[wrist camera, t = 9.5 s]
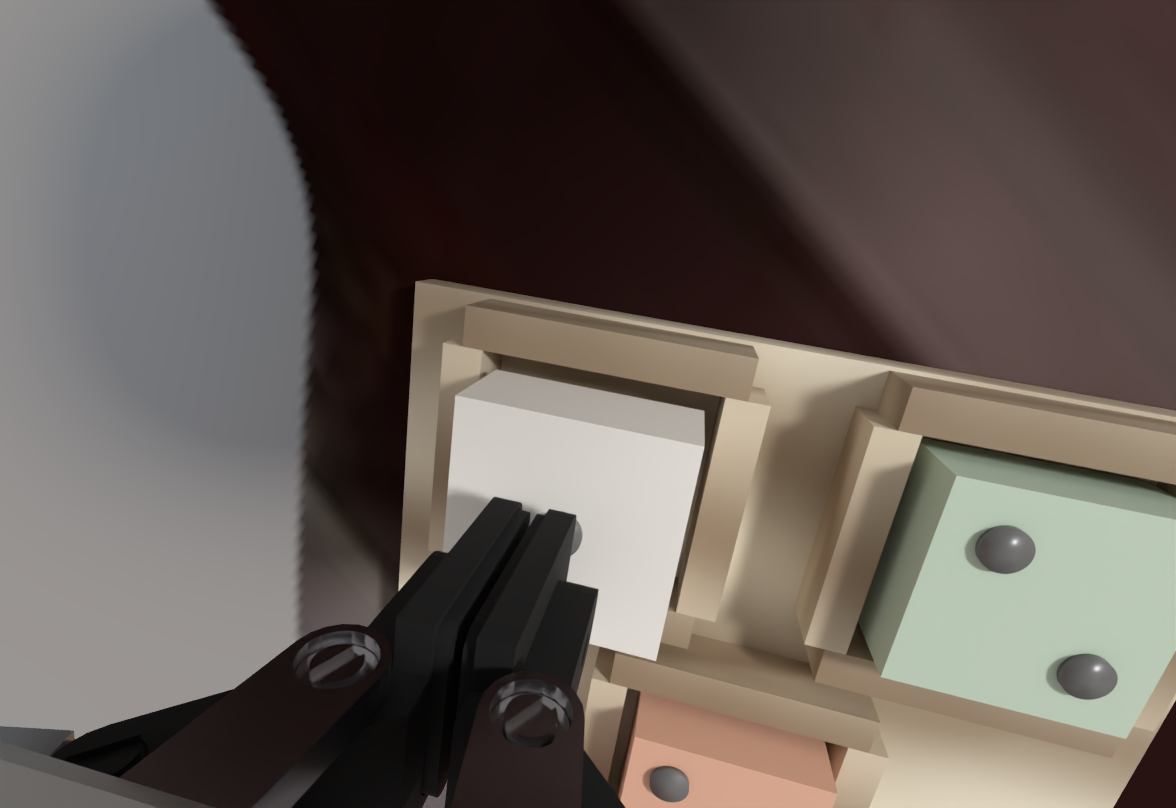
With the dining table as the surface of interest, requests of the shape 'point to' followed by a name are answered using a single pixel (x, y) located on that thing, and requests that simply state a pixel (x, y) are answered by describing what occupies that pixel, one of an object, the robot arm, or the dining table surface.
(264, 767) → the robot arm
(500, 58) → the dining table surface
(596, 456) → the white square block
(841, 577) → the board
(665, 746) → the pink square block
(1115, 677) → the tile
